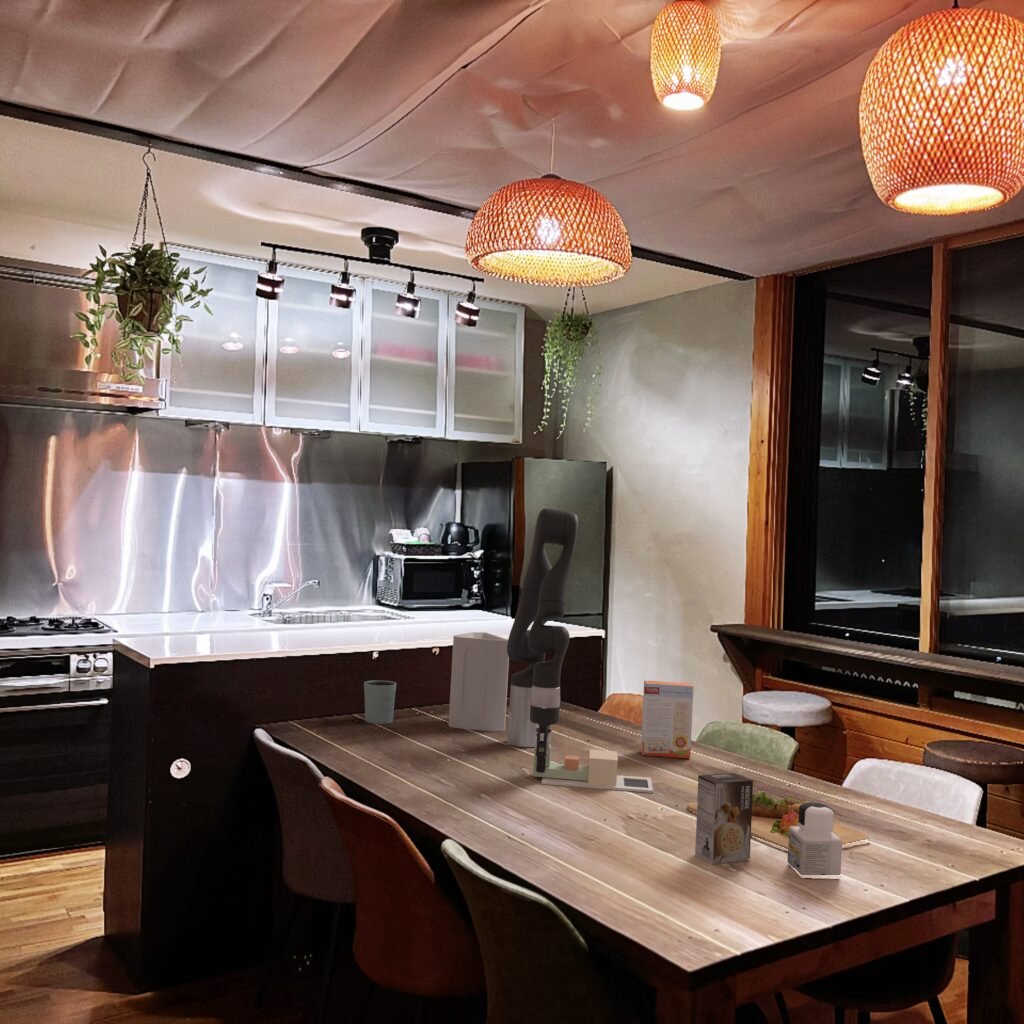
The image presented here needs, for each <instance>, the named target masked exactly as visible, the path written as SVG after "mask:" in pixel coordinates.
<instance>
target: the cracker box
mask: <svg viewBox="0 0 1024 1024" xmlns="http://www.w3.org/2000/svg"><path fill="white" fill-rule="evenodd" d="M642 695H643V696H642V697H643V699H642V713H641V714H642V715H641V716H642V718H641V737H640V738H641V739H640V741H641V742H640V753H641V756H644V755H646V756H647V757H660V756H662V758H663V757H664V758H673V757H674V758H677V759H687V760H688V759H691V751H692V750H691V748H692V728H693V709H694V708H693V705H694V704H693V702H694V685H693V684H692V683H690V682H677V681H676V682H674V681H664V680H662V681H661V680H643V693H642Z"/></svg>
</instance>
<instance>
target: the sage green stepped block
mask: <svg viewBox="0 0 1024 1024" xmlns="http://www.w3.org/2000/svg"><path fill="white" fill-rule="evenodd" d="M539 752H544V749H539ZM533 754H534V756H533V770H532V777H538V778H543V777H547V778H560V779H572V780H585V781H588V776H589V765H580V756H579V755H567V754H565V756H564V763H556V762H555V763H554V762H553V763H552V762H551V760H552V757H551V756H552V744H551V743H550V744H549V749H547V757H546V764H545V772H544V773H539V772H537V771H536V766H537V757H536V747H534V753H533Z"/></svg>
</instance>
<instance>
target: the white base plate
mask: <svg viewBox="0 0 1024 1024" xmlns="http://www.w3.org/2000/svg"><path fill="white" fill-rule="evenodd" d="M588 757H589V760H588V763H589V764H588V766H589V776H588V781H585V780H572V779H560V778H547V777H541V778H542V779H541V785H550V786H551V785H552V786H564V787H575V788H577V787H578V788H585V789H586V788H587V789H597V790H598V789H599V790H600V789H601V790H609V789H611V790H612V791H621V790H623V792H635V793H648V794H649V793H650V794H654V788H653V783H652V777H647V776H646V777H644V776H635V775H634V776H633V775H621V774H620V775H619V774H618V763H619V760H618V751H613V750H601V749H589V756H588Z"/></svg>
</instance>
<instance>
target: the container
mask: <svg viewBox="0 0 1024 1024" xmlns="http://www.w3.org/2000/svg"><path fill="white" fill-rule="evenodd" d="M834 823H835V811H834V809H833V808H832V807H830V806H828V805H827V804H823V803H819V802H811V803H805V804H802V805H800V806H799V818H798V826H799V827H798V826H790V827H789V842H788V853H787V862H788V863H789V864H790V865H791V866H792V867H793V868H795V869H796V870H797V871H798V872H799V873H800V874H801V875H840V874H841V873H842V872H841V871H842V854H843V851H842V850H843V849H842V840H841V839H840V838H839V837H837V836H836V835H835V834H834V833H832V832H833V827H834ZM787 862H786V863H787ZM841 875H842V874H841Z"/></svg>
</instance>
